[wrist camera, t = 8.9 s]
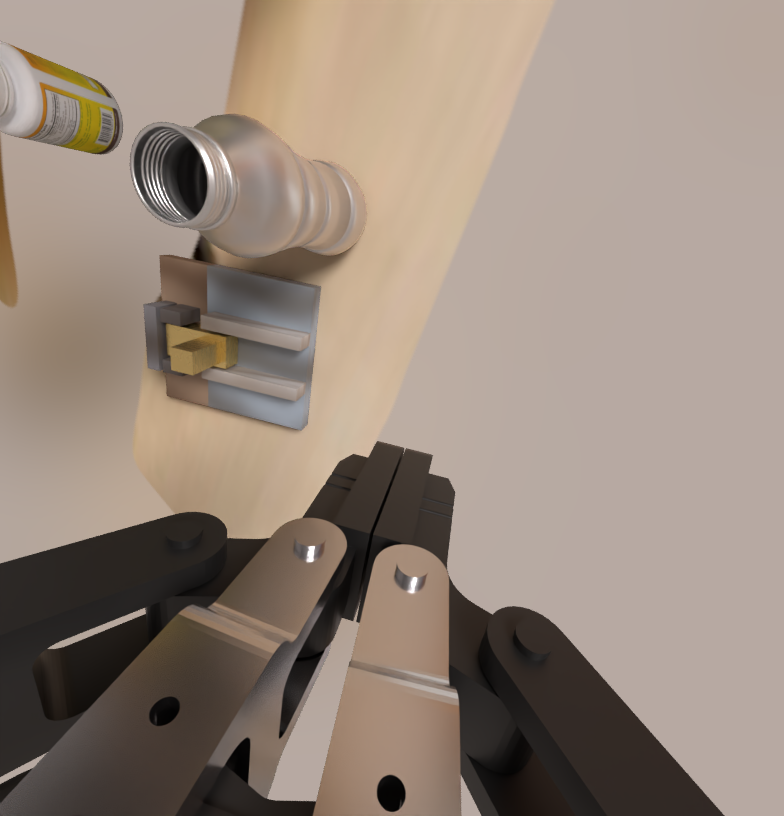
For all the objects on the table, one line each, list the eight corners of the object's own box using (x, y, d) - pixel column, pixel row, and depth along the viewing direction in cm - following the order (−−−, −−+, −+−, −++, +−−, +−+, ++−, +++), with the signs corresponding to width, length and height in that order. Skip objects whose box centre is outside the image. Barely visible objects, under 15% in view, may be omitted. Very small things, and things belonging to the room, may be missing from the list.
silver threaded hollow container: (317, 265, 36) (152, 288, 18) (286, 185, 34) (66, 120, 16) (384, 238, 34) (273, 233, 16) (355, 151, 33) (192, 35, 14)
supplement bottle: (59, 90, 35) (-91, 36, 26) (111, 71, 34) (-29, 7, 25) (87, 163, 37) (-45, 136, 28) (136, 148, 36) (15, 115, 27)
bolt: (180, 319, 39) (131, 332, 34) (238, 333, 39) (197, 347, 33) (181, 349, 41) (134, 366, 35) (237, 363, 40) (198, 382, 34)
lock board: (170, 254, 39) (135, 256, 35) (320, 286, 37) (301, 291, 33) (176, 391, 44) (147, 405, 41) (307, 424, 43) (289, 442, 39)
